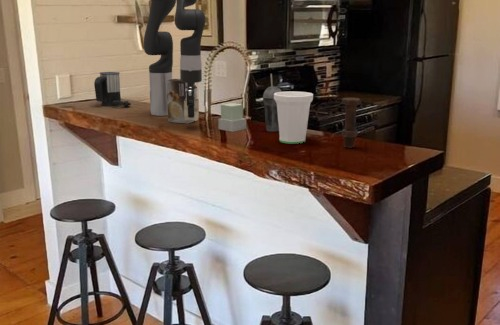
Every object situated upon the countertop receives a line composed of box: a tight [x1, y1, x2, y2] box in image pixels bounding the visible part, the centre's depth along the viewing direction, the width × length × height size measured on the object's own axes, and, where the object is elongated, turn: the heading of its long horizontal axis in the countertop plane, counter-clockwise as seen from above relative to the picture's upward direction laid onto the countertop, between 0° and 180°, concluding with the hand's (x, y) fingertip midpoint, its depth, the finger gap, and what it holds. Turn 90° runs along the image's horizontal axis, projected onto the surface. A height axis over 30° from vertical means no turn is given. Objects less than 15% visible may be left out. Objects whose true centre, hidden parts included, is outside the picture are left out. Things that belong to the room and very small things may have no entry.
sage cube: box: [220, 102, 244, 121], centre depth 189 cm, size 6×6×5 cm
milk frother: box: [93, 71, 132, 108], centre depth 239 cm, size 14×16×15 cm
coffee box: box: [166, 78, 197, 125], centre depth 202 cm, size 9×6×16 cm
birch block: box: [184, 98, 200, 121], centre depth 190 cm, size 5×5×7 cm
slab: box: [218, 117, 247, 133], centre depth 190 cm, size 7×7×4 cm
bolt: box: [340, 97, 362, 149], centre depth 161 cm, size 6×5×15 cm
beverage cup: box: [262, 73, 283, 133], centre depth 185 cm, size 7×7×20 cm
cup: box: [274, 90, 314, 145], centre depth 169 cm, size 12×12×15 cm
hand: (191, 115), depth 191 cm, fingers closed on birch block, 4 cm apart
